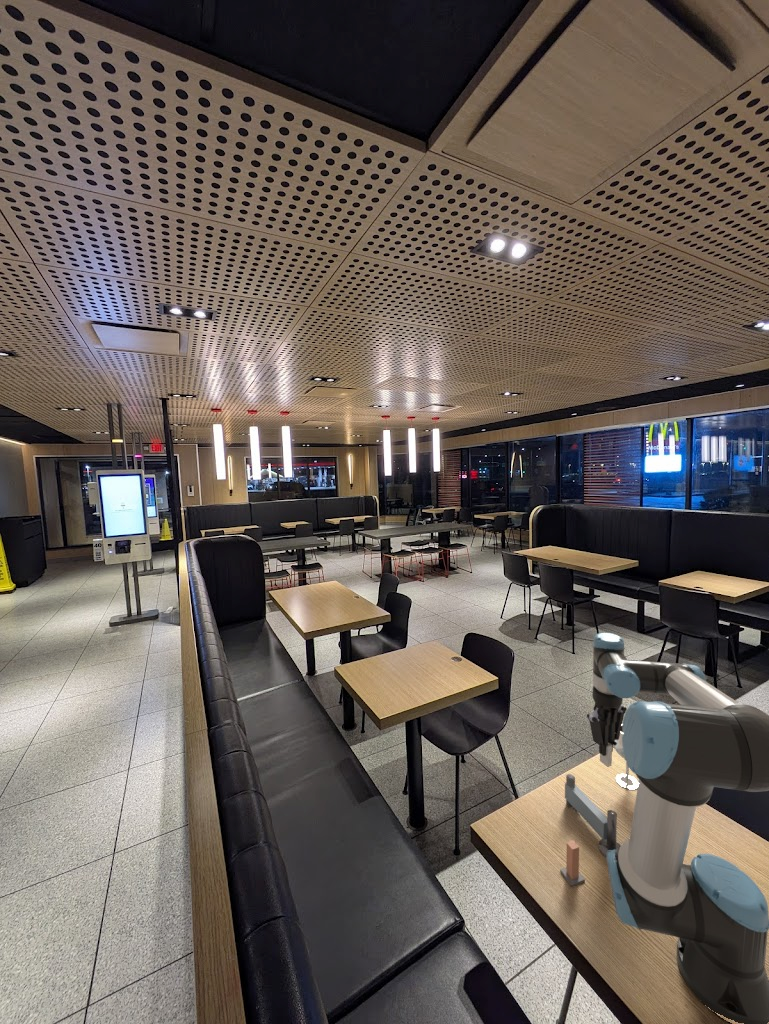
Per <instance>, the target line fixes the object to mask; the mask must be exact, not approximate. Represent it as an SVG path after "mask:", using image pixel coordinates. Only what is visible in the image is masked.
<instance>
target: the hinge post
mask: <svg viewBox="0 0 769 1024" xmlns="http://www.w3.org/2000/svg"><path fill="white" fill-rule="evenodd" d="M606 812H607V813H606V815H607V816H606V817H607V839H605V840H603V839H602V838H601V839H599V841H598V849H599V852H600V853H601V854H602V855H603V857H605V858H606V859H607V856H606V854H607V851H608V850H617V851H618V852H619V849H620V846H621V845H622V844H620V843H619V842H617V829H618V828H617V826H618V825H617V823H618V820H617V819H618V813H617V812H616V811H614V810H612V809H608V810H607V811H606Z"/></svg>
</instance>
